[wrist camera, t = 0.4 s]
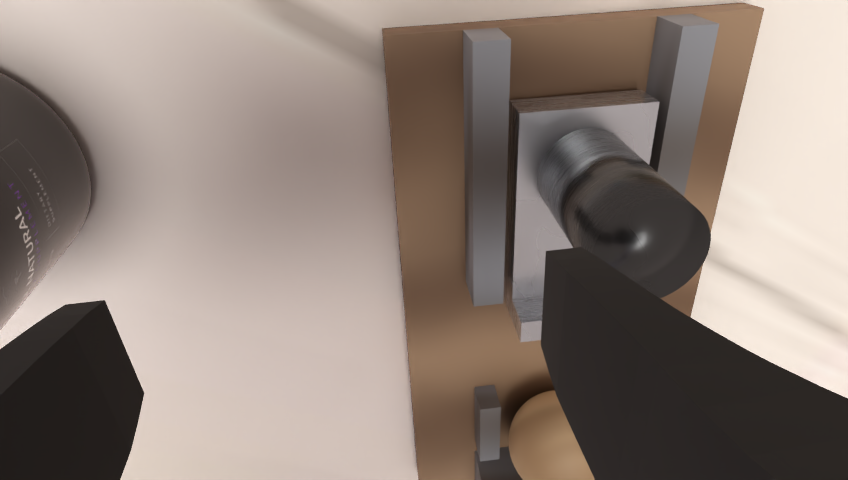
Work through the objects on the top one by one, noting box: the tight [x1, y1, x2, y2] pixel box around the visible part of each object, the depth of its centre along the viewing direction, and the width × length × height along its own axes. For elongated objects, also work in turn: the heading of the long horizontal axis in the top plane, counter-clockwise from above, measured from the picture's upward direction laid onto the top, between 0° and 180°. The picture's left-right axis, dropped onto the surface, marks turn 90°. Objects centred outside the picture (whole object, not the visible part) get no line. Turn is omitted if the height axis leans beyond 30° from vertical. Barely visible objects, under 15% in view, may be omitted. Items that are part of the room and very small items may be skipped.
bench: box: [382, 3, 764, 480], centre depth 20 cm, size 20×11×4 cm, turn 3°
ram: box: [504, 90, 711, 342], centre depth 17 cm, size 7×4×6 cm, turn 3°
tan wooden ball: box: [508, 390, 595, 480], centre depth 23 cm, size 4×4×4 cm
